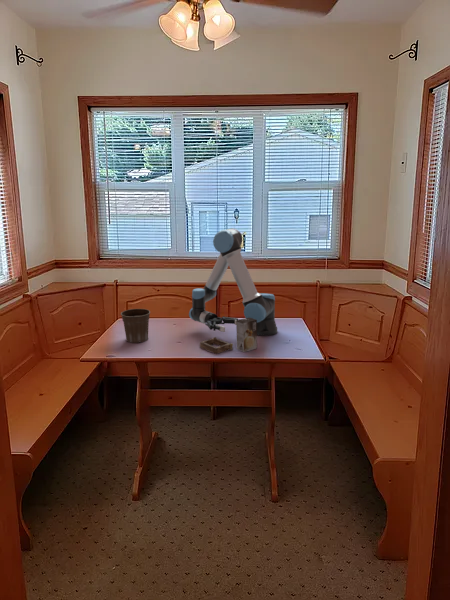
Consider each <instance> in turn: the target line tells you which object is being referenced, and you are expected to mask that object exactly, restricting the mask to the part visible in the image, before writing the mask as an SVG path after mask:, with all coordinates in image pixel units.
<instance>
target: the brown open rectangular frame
mask: <svg viewBox="0 0 450 600" xmlns="http://www.w3.org/2000/svg"><path fill="white" fill-rule="evenodd" d="M214 345H216V346H214ZM199 348H201V349H203V350H206V351H208V352H210V353H213V354H216V355H217V354H220V353H224V352H227V351H230V350H231V351H232V350H234V343H232V342H231V343H230V342H227V341H225V340H222V339H219V338H217V337H216V336H215V337H213V338H209V339H205V340H203V341H199Z"/></svg>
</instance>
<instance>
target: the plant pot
mask: <svg viewBox="0 0 450 600" xmlns="http://www.w3.org/2000/svg"><path fill="white" fill-rule="evenodd" d="M150 314H151V311H150V310H149V309H146V308H130V309H126V310H123V311H121V312H120V315H121V318H122V322H123V327H124V332H125V333H124V334H125V338H126V339H125V340H126V342H128V343H131V344H138V343H144V342H146V341H148V340H149V322H150Z"/></svg>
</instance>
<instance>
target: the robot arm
mask: <svg viewBox="0 0 450 600" xmlns="http://www.w3.org/2000/svg"><path fill="white" fill-rule="evenodd" d="M212 243H213V244H212V245H213V247H214V249H215V250H216V251H217V252H219V253H220V254H219V256H218V258H217V259H216V262H215V264H214V266H213V268H212V270H211V273H210V275H209V277H208V279H207V281H206V283H205V285H204V287H203V288H201V287H200V288H198V287H197V288H193V289H192V291H191V292H192V294H191V300H192V304H191V305H192V307H191V308H190V309H189V312H188V316H189V318H190V319H191V320H193V321H194V322H198V323H201V324H204V325H205V326H207V327H208V329H209V330H210V331H212V330H213V331H215V332H216V331H220V332H223V333H225V332H226V327H225V326H223V325H225V324H228V325H229V324H230V325H231V324H232V325H235V326H236V320H239V318H238V317H229V316H228V317H227V316H222V317H220V316H218V314H217V313H214V312H211V311H208V310H206V303H207V302H209V301H211V300H213V299H214V298H216V297H217V290H218V288H219V286H220V284H221V282H222V280H223V278H224V276H225V274H226V272H227V270H228V267H229V268H230V270H231V273H232V275H233V277H234V281H235V283H236V284H237V287H238V290H239V292H240V294H241V296H242V299H243V300H242V305H243V307H244V308H243V309H244V310H243V315H244V317H245V318H249V317H250V318H253V319H256V320H257V336H265V337H266V336H272V335H273V336H274V335H277V333H278V326H277V323H276V320H275V317H276V315H275V313H276V311H275V310H276V307H275V305H276V297H275V295H274V294H273V293H262V292H261V293H260V292H258V290H257V287H256V285H255V283H254V281H253V279H252V277H251V274H250V271H249V269H248V267H247V265H246V263H245V261H244V257H243V255H242V253H241V251H242V247H241V246H242V244H243V235H242V233H241V231H240V230H238V229H236V228H226V229H222V230H220V231H218V232H216V234H215V235H214V237H213V242H212Z"/></svg>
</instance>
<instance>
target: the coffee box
mask: <svg viewBox="0 0 450 600" xmlns="http://www.w3.org/2000/svg"><path fill="white" fill-rule="evenodd" d="M235 326H236V327H235V328H236V350H238V351H241V352H243V353H245V352H249V351H253V350H256V349H258V335H257V320H256V319H253V318H250V317H249V318H246V317H245V318H241V319H238V320H236V325H235Z"/></svg>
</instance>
